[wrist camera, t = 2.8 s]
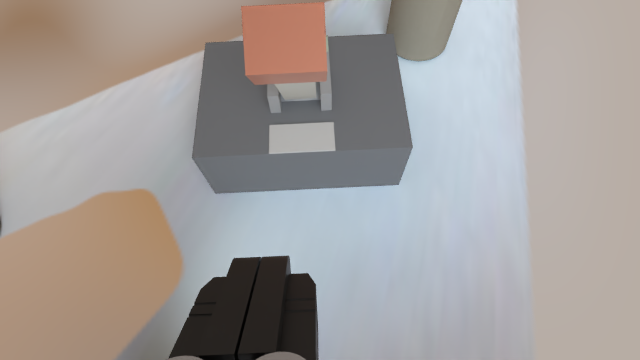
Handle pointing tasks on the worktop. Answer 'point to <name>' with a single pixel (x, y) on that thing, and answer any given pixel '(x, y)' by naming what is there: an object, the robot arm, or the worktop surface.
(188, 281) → the worktop surface
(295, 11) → the white tall piece
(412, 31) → the travel mug
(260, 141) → the grey box
